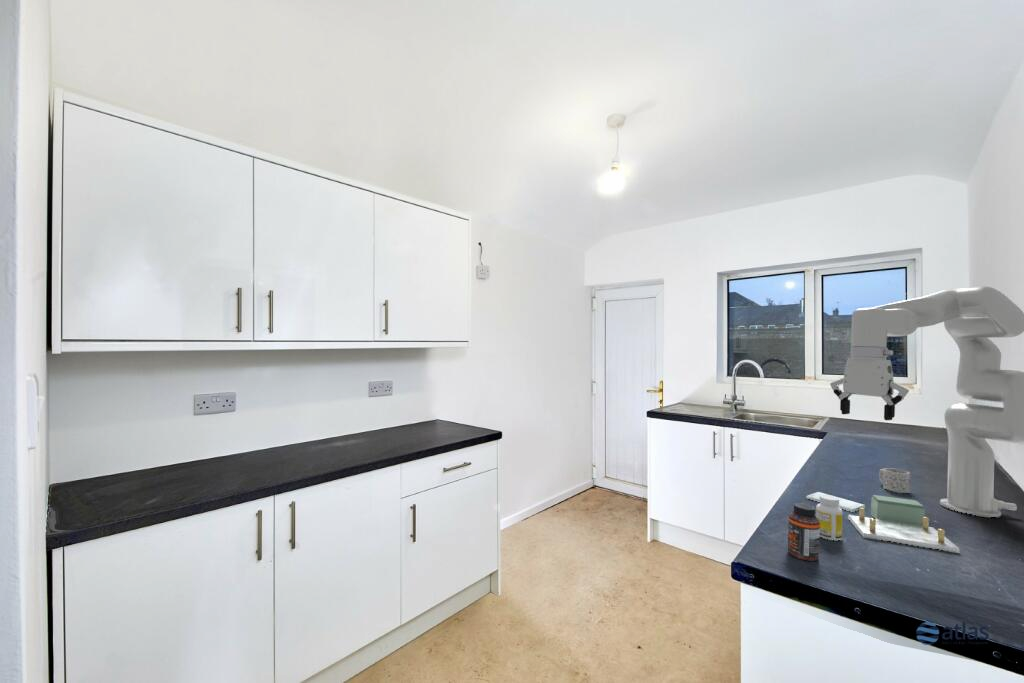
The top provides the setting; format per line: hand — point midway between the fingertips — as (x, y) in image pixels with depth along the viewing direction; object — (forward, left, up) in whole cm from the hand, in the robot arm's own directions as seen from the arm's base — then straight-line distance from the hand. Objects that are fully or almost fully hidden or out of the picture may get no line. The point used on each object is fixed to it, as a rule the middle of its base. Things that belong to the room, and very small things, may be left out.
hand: (866, 416), depth 118 cm
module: (-9, -6, -29) cm, 31 cm away
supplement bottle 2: (+11, +15, -29) cm, 34 cm away
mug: (-19, -42, -29) cm, 55 cm away
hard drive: (+3, -15, -30) cm, 33 cm away
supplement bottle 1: (+19, +30, -29) cm, 46 cm away
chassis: (-6, +5, -29) cm, 30 cm away
